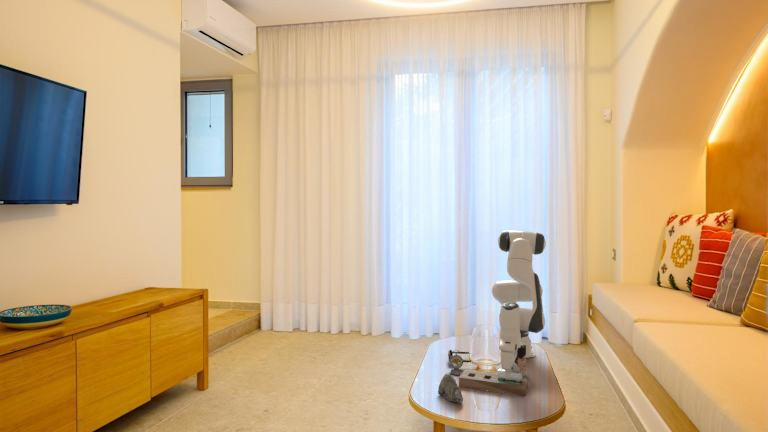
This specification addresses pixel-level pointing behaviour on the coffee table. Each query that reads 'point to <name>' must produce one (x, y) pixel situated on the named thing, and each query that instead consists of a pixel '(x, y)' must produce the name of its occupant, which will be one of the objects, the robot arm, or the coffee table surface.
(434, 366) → the coffee table surface
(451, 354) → the sunglasses
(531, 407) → the coffee table surface
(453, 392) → the mineral rock
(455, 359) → the pocket watch
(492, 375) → the slotted brown block
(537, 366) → the coffee table surface
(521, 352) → the cup
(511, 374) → the tall white block
